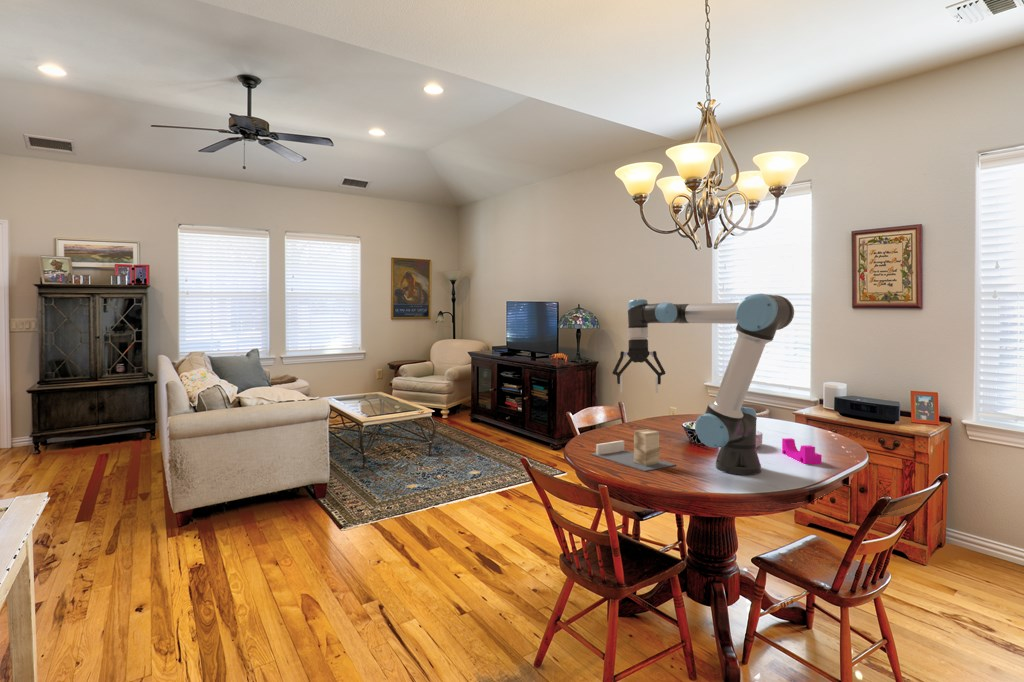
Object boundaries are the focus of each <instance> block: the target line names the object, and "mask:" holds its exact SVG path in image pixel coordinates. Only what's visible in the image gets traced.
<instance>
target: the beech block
mask: <svg viewBox="0 0 1024 682" xmlns="http://www.w3.org/2000/svg"><path fill="white" fill-rule="evenodd" d="M633 452H634V463H636V464H640V465H643V466H650V465H655V464H659V460H660V431H658V430H653V429H648V428H646V429H639V430H634V431H633Z"/></svg>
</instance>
